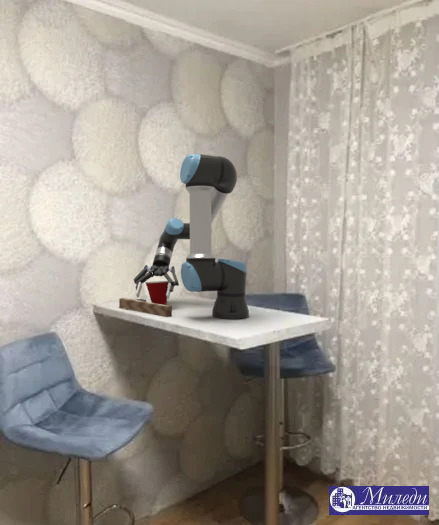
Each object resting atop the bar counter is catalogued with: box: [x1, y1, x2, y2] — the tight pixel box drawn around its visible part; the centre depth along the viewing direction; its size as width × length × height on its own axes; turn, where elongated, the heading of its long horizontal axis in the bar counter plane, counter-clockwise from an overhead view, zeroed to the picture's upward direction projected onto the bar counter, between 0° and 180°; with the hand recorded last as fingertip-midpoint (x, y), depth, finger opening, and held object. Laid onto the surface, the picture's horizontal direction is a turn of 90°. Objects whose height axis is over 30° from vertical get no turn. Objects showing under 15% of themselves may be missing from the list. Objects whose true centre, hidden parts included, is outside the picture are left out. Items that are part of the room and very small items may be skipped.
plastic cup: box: [144, 280, 170, 305], centre depth 207 cm, size 11×11×12 cm
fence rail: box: [118, 297, 173, 318], centre depth 202 cm, size 29×11×4 cm, turn 51°
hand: (152, 296), depth 204 cm, fingers open, 13 cm apart
